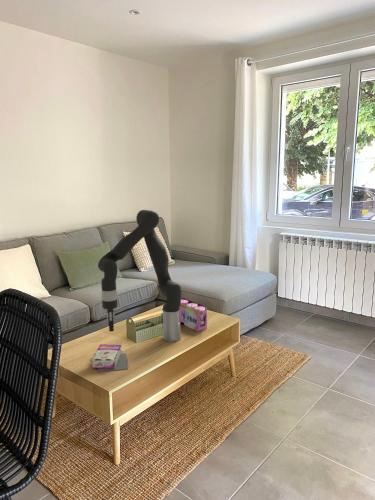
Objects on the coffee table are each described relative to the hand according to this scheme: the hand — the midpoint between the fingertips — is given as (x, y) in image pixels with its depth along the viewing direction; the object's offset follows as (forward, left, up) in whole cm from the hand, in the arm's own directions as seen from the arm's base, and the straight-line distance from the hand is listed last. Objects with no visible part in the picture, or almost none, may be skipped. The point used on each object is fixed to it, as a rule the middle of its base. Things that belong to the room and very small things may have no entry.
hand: (111, 330), depth 195 cm
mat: (0, +7, -14) cm, 16 cm away
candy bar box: (+1, -3, -11) cm, 12 cm away
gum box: (-48, -33, -14) cm, 60 cm away
